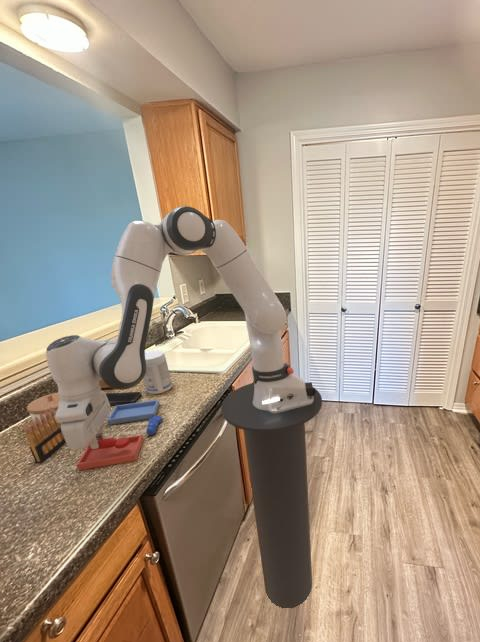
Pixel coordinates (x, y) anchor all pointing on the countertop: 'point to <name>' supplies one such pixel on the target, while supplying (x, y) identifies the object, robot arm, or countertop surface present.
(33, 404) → the lidded bowl
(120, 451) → the red tray
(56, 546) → the countertop surface
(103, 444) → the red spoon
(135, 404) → the blue tray
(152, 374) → the supplement tub
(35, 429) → the ammunition clip
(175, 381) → the countertop surface
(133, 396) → the phone
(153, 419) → the blue lumpy bar
